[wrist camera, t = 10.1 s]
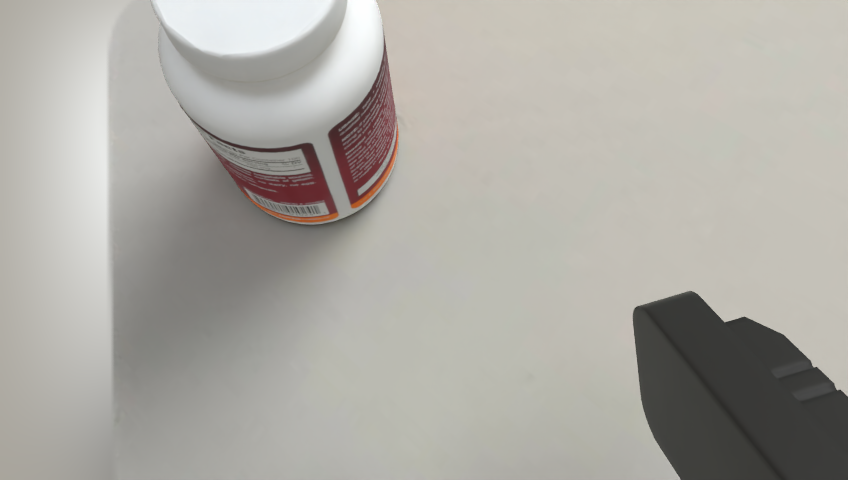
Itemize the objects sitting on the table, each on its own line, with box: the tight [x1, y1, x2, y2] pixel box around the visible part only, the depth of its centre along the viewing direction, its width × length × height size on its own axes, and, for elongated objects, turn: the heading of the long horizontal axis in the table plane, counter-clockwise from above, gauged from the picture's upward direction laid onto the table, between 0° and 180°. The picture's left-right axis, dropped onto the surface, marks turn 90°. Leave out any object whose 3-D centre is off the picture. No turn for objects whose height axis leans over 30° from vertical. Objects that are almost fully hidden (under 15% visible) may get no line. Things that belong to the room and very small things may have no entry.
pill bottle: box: [150, 0, 398, 225], centre depth 24 cm, size 6×6×11 cm
